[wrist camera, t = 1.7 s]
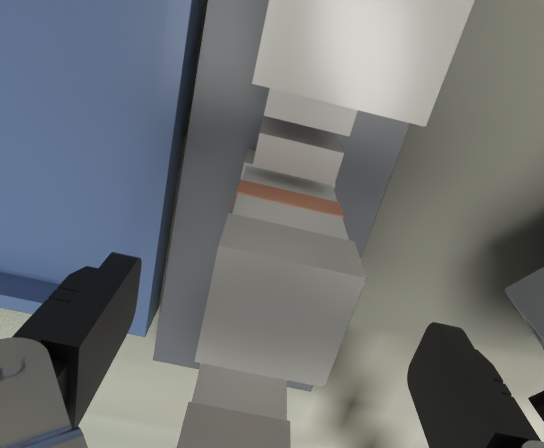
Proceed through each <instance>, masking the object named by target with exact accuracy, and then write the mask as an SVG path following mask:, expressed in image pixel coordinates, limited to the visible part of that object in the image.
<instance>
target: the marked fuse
mask: <svg viewBox="0 0 544 448" xmlns="http://www.w3.org/2000/svg"><path fill="white" fill-rule="evenodd" d="M255 152H256V151H255V150H250V149H248V151H247V154H246V158H245V161H244V165H243V169H242V174H241V179H240V182H239V186H238V189H237V193H236V198H235V202H234V207H233V212H232V213H228V216H227V219H226V223H225V226H224V229H223V232H222V236H221V239H220V242H219V245H218V250H217V255H216V260H215V265H214V269H213V274H212V279H211V284H210V289H209V294H208V298H207V303H206V308H205V313H204V318H203V323H202V327H201V332H200V337H199V342H198V347H197V352H196V356H195V361H194V362H199V363H204V364H209V365H214V366H219V367H224V368H229V369H234V370H239V371H244V372H249V373H254V374H259V375H264V376H269V377H274V378H279V379H284V380H289V381H294V382H299V383H304V384H309V385H314V386H319V387H325V384H326V382H327V379H328V377H329V374H330V372H331V369H332V366H333V364H334V361H335V359H336V356H337V354H338V351H339V348H340V346H341V343H342V341H343V338H344V336H345V333H346V330H347V328H348V325H349V323H350V320H351V318H352V315H353V312H354V310H355V307H356V305H357V302H358V300H359V297H360V294H361V292H362V289H363V287H364V284H365V282H366V279H367V278H366V275H365V272H364V269H363V266H362V263H361V259H360V256H359V253H358V250H357V247H356V244H355V241H351V240H349V238H348V235H347V232H346V228H345V225H344V222H343V218H344V214H343V211H342V208H341V205H340V202H337V199H336V195H335V192H334V188H335V184H336V183H335V184H334V185H331V184H327V183H323V182H319V181H314V180H310V179H306V178H302V177H297V176H293V175H289V174H285V173H280V172H276V171H272V170H268V169H263V168H259V167H255V166H252V165H253V161H254V156H255Z"/></svg>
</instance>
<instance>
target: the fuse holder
mask: <svg viewBox="0 0 544 448" xmlns="http://www.w3.org/2000/svg"><path fill="white" fill-rule="evenodd" d="M268 4H269V0H208V4H207V10H206V17H205V23H204V30H203V36H202V43H201V50H200V56H199V63H198V69H197V76H196V82H195V89H194V95H193V102H192V108H191V115H190V121H189V128H188V135H187V141H186V148H185V154H184V161H183V167H182V174H181V180H180V187H179V193H178V200H177V206H176V213H175V219H174V226H173V233H172V239H171V246H170V252H169V259H168V265H167V272H166V278H165V285H164V291H163V298H162V304H161V311H160V318H159V324H158V331H157V337H156V344H155V350H154V357H153V360H155V361H160V362H165V363H170V364H175V365H180V366H185V367H190V368H195V369H200V364H201V363H199V362H194V361H195V356H196V352H197V347H198V342H199V337H200V332H201V327H202V323H203V318H204V313H205V308H206V303H207V298H208V294H209V289H210V284H211V279H212V274H213V269H214V265H215V260H216V255H217V250H218V245H219V242H220V239H221V236H222V232H223V229H224V226H225V223H226V219H227V216H228V213H232V212H233V207H234V202H235V198H236V193H237V189H238V186H239V182H240V179H241V174H242V169H243V165H244V161H245V158H246V154H247V151H248V149H250V150H255V151H256V152H255V156H254V161H253V165H252V166H255V167H259V168H263V169H268V170H272V171H276V172H280V173H285V174H289V175H293V176H297V177H302V178H306V179H310V180H314V181H319V182H323V183H327V184H331V185H334V184H335V183H336V184H335V188H334V192H335V195H336V199H337V202H340V205H341V208H342V211H343V214H344V218H343V222H344V225H345V228H346V232H347V235H348V238H349V240H351V241H355V244H356V247H357V250H358V253H359V256H360V258H361V255H362V252H363V249H364V247H365V244H366V241H367V239H368V236H369V233H370V231H371V228H372V225H373V223H374V220H375V217H376V215H377V212H378V209H379V207H380V204H381V201H382V198H383V196H384V193H385V190H386V188H387V185H388V182H389V180H390V177H391V174H392V172H393V169H394V166H395V164H396V161H397V158H398V155H399V153H400V150H401V147H402V145H403V142H404V139H405V137H406V134H407V131H408V129H409V126H410V123H407V122H403V121H399V120H395V119H391V118H387V117H383V116H379V115H375V114H371V113H367V112H363V111H359V110H355V109H351V108H347V107H343V106H339V105H335V104H331V103H327V102H323V101H319V100H315V99H311V98H307V97H303V96H299V95H295V94H291V93H287V92H283V91H279V90H275V89H271V88H268V87H264V86H260V85H256V84H252V81H253V76H254V71H255V66H256V62H257V57H258V52H259V47H260V42H261V37H262V33H263V28H264V23H265V18H266V13H267V8H268ZM286 387H291V388H296V389H301V390H306V391H311V389H312V387H313V385H309V384H304V383H299V382H294V381H289V380H286Z"/></svg>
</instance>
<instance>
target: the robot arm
mask: <svg viewBox="0 0 544 448" xmlns="http://www.w3.org/2000/svg"><path fill="white" fill-rule="evenodd" d="M141 266H142V260H141V258H139V257H134V256H129V255H125V254H120V253H116V252H112V253H110V255H109V256H108V257H107V258H106V259H105V261H104V262H103V263H102V264H101V266H100V267H99V268H94V267H90V266H85V267H83V268H81V269H79V270H77V271H75V272H73V273H71V274H69V275H68V276H67V277H66V278H65V279H64V281H63V282H62V283H61V284H60V285H59V286H58V288H57V289H55V290H54V292H53V293H52V294H51V295H50V296H49V297H48V300H45V301H44V303H43V304H42V305H41V306H40V307H39V308H38V309H37V310H36V311H35V312H34V314H33V315H32V316H31V317H30V318H29V319H28V320H27V321H26V322H25V323H24V325H23V326H22V327H21V328H20V329H19V330H18V331H17V332H16V333H15V334H14V336H13V337H12V338H5V339H0V448H88V447H87V444H86V441H85V438H84V435H83V433H82V431H81V429H80V428H79V427H78V425H79V423H80V421H81V419H82V418H83V416H84V414H85V412H86V410H87V408H88V406H89V404H90V403H91V401H92V399H93V397H94V395H95V393H96V391H97V389H98V388H99V386H100V384H101V382H102V380H103V378H104V376H105V374H106V373H107V371H108V369H109V367H110V365H111V363H112V361H113V359H114V358H115V356H116V354H117V352H118V350H119V348H120V346H121V344H122V343H123V341H124V339H125V337H126V335H127V333H128V331H129V329H130V327H131V325H132V322H133V319H134V316H135V312H136V306H137V299H138V291H139V283H140V274H141ZM407 381H408V387H409V390H410V393H411V396H412V399H413V402H414V405H415V408H416V411H417V413H418V416H419V419H420V422H421V425H422V428H423V431H424V434H425V436H426V439H427V442H428V445H429V448H544V442H541V440H540V439H539V437H538V435H537V434H536V432H535V431H534V429H533V427H532V426H531V424H530V423H529V421H528V419H527V418H526V416H525V415H524V413H523V412H522V410H521V408H520V407H519V405H518V404H517V402H516V400H515V399H514V397H511V393H510V391H509V389H508V388H507V386H506V385H505V384H503V380H502V378H501V377H500V375H499V373H498V372H497V370H496V369H495V367H494V366H493V364H492V363H490V362H489V361H488V360H487V359H486V358H485V357H484V356H483V355H482V354H481V353H480V352H479V351H478V350H475V349H474V347H473V345H472V344H471V342H470V340H469V339H468V337H467V335H466V334H465V332H464V331H463V330H462V329H461V328H459V327H454V326H449V325H445V324H440V323H435V322H433V323H431V324H430V325H429V326H428V327H427V329H426V331H425V333H424V335H423V337H422V340H421V342H420V344H419V346H418V348H417V350H416V352H415V354H414V356H413V359H412V361H411V363H410V365H409V369H408V376H407Z"/></svg>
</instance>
